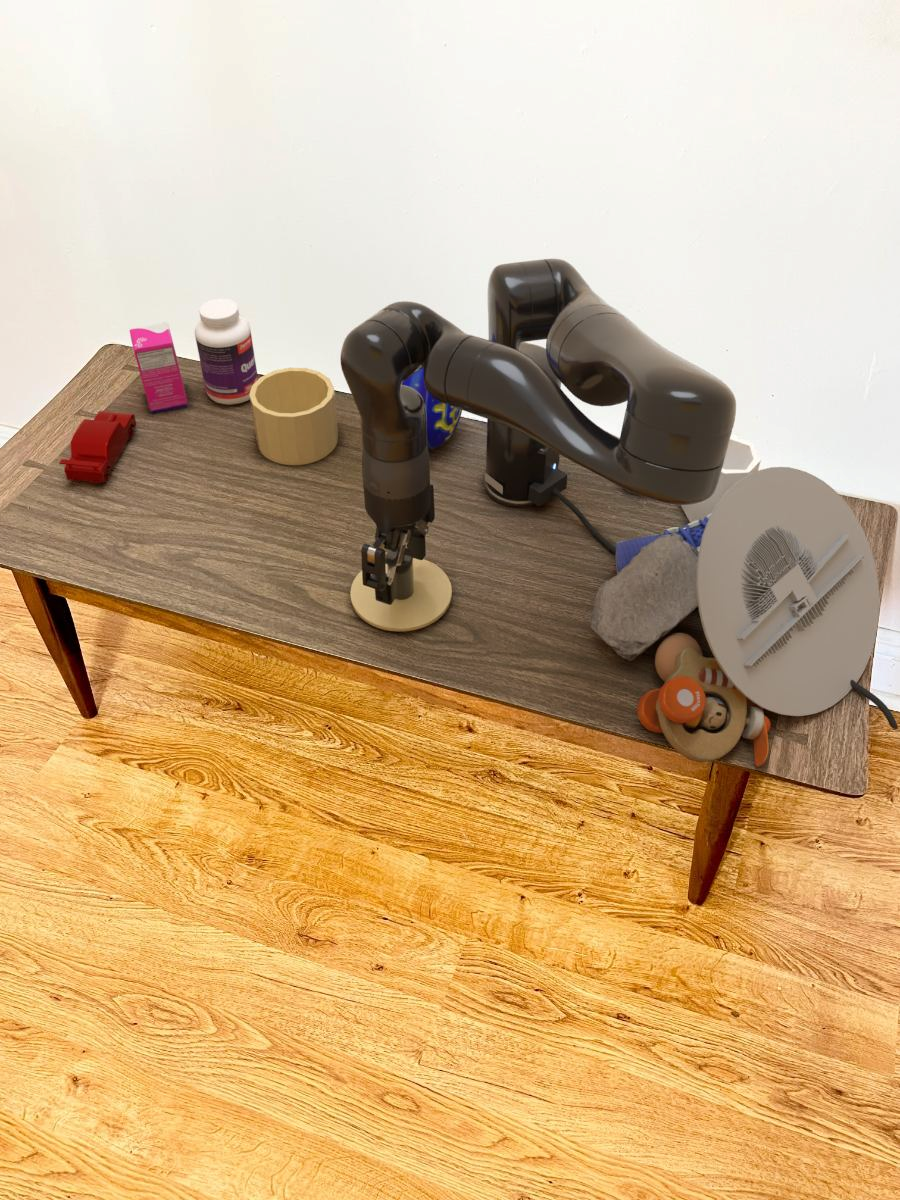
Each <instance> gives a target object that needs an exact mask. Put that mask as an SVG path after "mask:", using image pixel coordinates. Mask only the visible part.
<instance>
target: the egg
mask: <svg viewBox="0 0 900 1200" xmlns="http://www.w3.org/2000/svg"><path fill="white" fill-rule="evenodd" d="M687 648H691V649H694V650H695V651H696V652H698V653H699V654H700V655H701V656H703V657H704V655H703V654H704V653H703V651H702V649H701V646H700V645H699V644H698V642H697V640H696V639H695V638H693V637H692V636H691V635H690V634H688V633H685V632H675V633H672V634H669V635H668V636H667V637H665V638H664V639H663V640H662V641H661V643H660V644H659V645H658V647H657V649H656V653H655V657H654V658H655V659H654V667H655V671H656V672H657V675H658V677H659V678H660V679H661V680H662V681H663V682H664V683H665V682H666V680H667V679H668V678H669V676H670V675H671V674H672V673H673V672H674V670H675V658H676V656H677V654H678V653H680V652H681V651H683V650H684V649H687Z"/></svg>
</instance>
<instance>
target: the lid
mask: <svg viewBox="0 0 900 1200" xmlns="http://www.w3.org/2000/svg"><path fill="white" fill-rule="evenodd" d="M386 555H387V556H389V557H392V558H395V555H396V553H395V552H392V551H389V550H388V551H387V552H386ZM388 568H389V566H388V564H386V574H387V572H388ZM393 581H394V599H395V600H394V601H393V603H392V604H391V605H388V604H385V603H382V602H379V601H376V598H375V589H373V588H370V587H367V586H364V585H363V580H362V570H360V571H359V572H358V574H357V575H355V578H354V579H353V581H352V584H351V587H350V594H349V595H350V603H351V605H352V608H353V610H354V612H355V613H356V615H357V616H358V617H359V618H360V619H361V620H363V621H364V622H366V623H367V624H369V626H370V625H371V626H373V627H375V628H377V629H381V630H383V631H389V632H410V631H416V630H419V629H422V628H425V627H428V626H430V625H431V624H433V623H435V622H436V621H438V620H439V619H440V618H441V617H442V616H444V614H445V613H446V612H447V610H448V609H449V607H450V605H451V603H452V598H453V587H452V583H451V581H450V578H449V577H448V575H447V574H446V572H445V571H444V570H443V569H442V568H441V567H439V566H438V565H436V564H435V563H433V562H432V561H429V560H427V559H425V558H424V559H423V560H418V559H415V558H413V554H412V552H411V551H410V550H409V549H407V547H405V551H404V555H403V559H402V563H401V565H400V566H397V567H396V570H395V574H394V578H393Z"/></svg>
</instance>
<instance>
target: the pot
mask: <svg viewBox="0 0 900 1200" xmlns="http://www.w3.org/2000/svg"><path fill="white" fill-rule="evenodd" d="M249 397H250V400H249V403H250V408H251V415H252V420H253V427H254V433H255V440H256V443H257V447H258V450H259V452H260V453H261V454H262V455H263V456H264V457H265V458H266V459H268V460H269V461H272V462H274V463H277V464H279V465H287V466H304V465H309V464H312V463H315V462H318V461H320V460H323V459H324V458H325V457H328V456H329V455H330V454H331V453H332V452H333V451H334V449H336V446H337V445H338V441H339V426H338V416H337V415H338V414H337V404H336V392H335V386H334V385H333V382H332V381H331V379H330V378H329V377H328V376H327V375H326V374H324V373H322V372H320V371H318V370H313V369H310V368H308V367H286V368H281V369H277V370H272V371H270V372H268V373H266V374H264V375H262V376H260V377H258V380H257V381H256V382H255V383H254V384H253V385H252V388H251V391H250V394H249Z"/></svg>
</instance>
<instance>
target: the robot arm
mask: <svg viewBox="0 0 900 1200" xmlns="http://www.w3.org/2000/svg"><path fill="white" fill-rule="evenodd" d="M487 321H488V322H487V323H488V328H487V329H488V339H486V338H482V337H480V336H475V335H472V334H468V333H467V332H464V331H463V330H462V329H461V328H460V327H458V326H457V325H455V324H454V323H453V322H452V321H450V320H448V319H446V318H445V317H443V316H442V315H440V314H439V313H437V312H436V311H435V310H433V309H431V308H430V307H429V306H426V305H424V304H423V303H419V302H415V301H408V300H407V301H405V300H402V301H396V302H392V303H389V304H388V305H386V306H385V307H383V308H381V309H380V310H379V311H377V312H376V313H374V314H373V315H372V316H370V317H368V318H367V319H365V320H364V321H363V322H361V323H360V324H358V325H357V326H356V327H354V328H353V329H352V330H351V331H349V333H347V335H346V336H345V338H344V340H343V342H342V345H341V350H340V367H341V371H342V372H341V373H342V374H343V377H344V379H345V382H346V384H347V387H348V388H349V391H350V394H351V397H352V399H353V402H354V404H355V406H356V409H357V411H358V414H359V416H360V429H361V443H362V447H361V448H362V449H361V472H362V473H361V475H362V486H363V499H364V509H365V512H366V513H367V516H368V517H369V518H370V519H371V520H372V521H373V522H374V524H375V526H376V527H375V531H374V541H373V543H372V544H368V543H363V545H362V547H361V551H360V554H361V571H362V580H363V585H364V586H367V587H370V588H373V589H375V598H376V601H379V602H382V603H385V604H388V605H391V604H392V603H393V601H394V600H395V599H394V581H393V578H394V574H395V570H396V567H397V566H400V565H401V563H402V559H403V555H404V551H405V548H407V549H409V550H410V551H411V552H412V554H413V558H415V559H418V560H423V559H425V557H426V555H427V554H426V552H427V550H426V536H427V535H428V533H429V528H430V527H429V525H428V524H429V523H431V524H432V523H433V522H434V520H435V518H436V511H435V493H434V492H435V491H434V485H433V484H431V464H430V463H431V459H430V452H429V449H428V446H427V419H426V407H425V403H424V400H423V398H422V396H421V395H420V394H419V393H418V392H417V391H416V390H415V389H413V388H411V387H408V386H405V385H401V384H402V383H403V382H404V381H405V380H407V379H408V378H409V377H410V376H412V375H413V374H414V373H416V372H417V371H418V370H420V369H424V383H425V387H426V389H427V391H428V392H429V394H430V395H431V396H432V397H433V398H435V399H436V400H438V401H440V402H442V403H444V404H447V405H450V406H453V407H455V408H458V409H461V410H462V411H464V412H466V413H470V414H472V415H475V416H478V417H481V418H483V419H487V420H486V446H485V447H486V448H485V449H486V450H485V451H486V452H485V472H484V489H485V492H486V493H487V495H488V496H489V497H490V498H491V499H492V500H494V501H495V502H496V503H498V504H501V505H504V506H507V507H511V508H512V507H513V508H529V507H537V508H543V506H544V504H546V503H547V502H548V501H550V500H552V499H553V498H554V497H556V498H557V499H558V500H559V501H561V502H562V503H563V504H564V505H565V506H566V507H567V508H568V509H569V510H570V511H572V512H573V514H574V515H575V516H576V517H577V519H578V520H579V521H580V522H581V524H583V526H584V527H585V528H586V529H587V530H588V532H589V533H590V534H592V535H593V536H594V538H595V539H596V540H597V541H598V542H600V543H601V544H602V545H603V546H604V547H605V548H606V549H608V550H609V551H610V552H611V553H613V554H614V556H616V546H614V545H613V544H612V543H611V542H610V541H609V540H608V539H606V538H605V537H604V536H603V535H602V534H601V533H600V532H599V531H598V530H597V529H596V528H595V527H594V526H593V525H592V524H591V523H590V522H589V520H588V519H587V517H586V516H585V515H584V514H583V513H582V511H581V510H580V509H579V508H578V507H577V506H576V505H575V504H574V503H573V502H571V500H570V499H568V498H567V497H566V496H565V495H564V494H563V493H562V492H563V491H565V490H566V489H567V486H568V476H569V474H568V473H567V472H565V471H563V470H561V468H559V464H560V456H562V457H564V458H565V459H567V460H569V461H571V462H572V463H575V464H577V465H578V466H580V467H583V468H584V469H586V470H588V471H590V472H592V473H594V474H596V475H598V476H599V477H601V478H603V479H605V480H607V481H608V482H611V483H613V484H614V485H616V486H618V487H620V488H622V489H624V490H625V489H626V490H629V491H631V492H633V493H635V494H634V495H637V496H639V497H643V498H646V499H649V500H651V501H656V502H659V503H663V504H666V505H667V504H668V505H675V506H681V505H691V504H696V503H700V502H703V501H705V500H707V499H708V498H710V497H711V496H712V495H713V493H714V492H715V490H716V487H717V484H718V481H719V478H720V474H721V471H722V467H723V463H724V459H725V456H726V452H727V448H728V444H729V440H730V437H731V434H732V433H733V429H734V425H735V421H736V413H737V400H736V397H735V395H734V393H733V391H732V390H731V388H730V387H729V386H728V385H727V384H726V383H724V381H722V380H721V379H720V378H718V377H717V376H716V375H714V374H712V373H710V372H709V371H707V370H705V369H704V368H702V367H700V366H698V365H696V364H694V363H692V362H690V361H688V360H686V359H685V358H683V357H681V356H679V355H678V354H676V353H675V352H673V351H670V350H669V349H667V348H666V347H664V346H662V345H661V344H659V343H658V342H657V341H656V340H654V339H653V338H652V337H650V336H649V335H648V334H647V333H646V332H645V331H643V330H642V329H641V328H639V326H638V325H636V324H635V323H634V322H633V321H632V320H631V319H629V318H628V317H627V316H625V314H623V313H622V312H620V311H619V310H617V308H614V307H613V306H611V305H610V304H608V303H607V302H606V301H605V300H604V299H603V298H602V297H601V296H600V295H598V293H596V292H595V291H594V290H593V289H592V288H591V286H590V285H589V283H587V281H586V280H585V279H584V278H583V276H582V275H581V274H580V272H579V271H578V270H577V269H576V268H575V267H574V266H573V264H571V263H570V262H568V261H566V260H564V259H561V258H543V259H542V258H541V259H534V260H524V261H516V262H508V263H501V264H498V265H496V266H494V267H493V269H492V270H491V272H490V274H489V278H488V282H487ZM541 340H543V341H544V340H546V341H545V342H546V343H545V347H543V346H541V345H538V344H534V343H531V342H534V341H541ZM562 385H563V386H564V387H565V388H566V390H567V391H568V392H569V393H571V394H572V395H573V396H574V397H575V398H576V399H578V400H579V401H581V402H583V403H585V404H587V405H590V406H594V407H595V406H596V407H612V406H616V405H620V404H623V403H626V408H625V412H624V417H623V421H622V426H621V431H620V435H619V436H617V435H615V434H612V433H610V432H609V431H607V430H605V429H603V428H602V427H600V426H599V425H598V424H596V423H595V422H594V421H592V420H591V418H589V417H588V416H586V414H585V413H583V412H582V411H581V409H580V408H578V407H577V405H575V403H574V402H572V400H571V399H570V398H569V397H568V395H566V393H565V391H563V389H562V388H561V387H562ZM626 490H625V491H626ZM386 551H388V552H389V551H392V552H395V553H396V555H395V558H392V557H389V556H387V554H386ZM386 564H388V566H389V568H388V572H387V574H386ZM850 684H851V687H852V689H853V690H855V691H856V692H857V693H859V694H861V695H862V696H864V697H865V698H866V699H868V700H869V701H870V702H872V703H873V704H874V705H875V706H876V707H877V708H878V709H879V710H880V712H882V714H883V715H884V717H885V719H886V720H887V722H888V725H889V727H891V729H893V730H898V729H899V725H898V723H897V721H896V718H895V717H894V715H893V713H892V711H891V710H890V708H888V706H887V704H885V703H884V702H883V701H882V700H881V699H880V698H878V696H876V695H875V694H874V693H872V692H871V691H869V690H868V689H866V687H864V686H863V685H860V684H859V683H858V682H857V683H856V682H855V681H854V680H851V681H850Z"/></svg>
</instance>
